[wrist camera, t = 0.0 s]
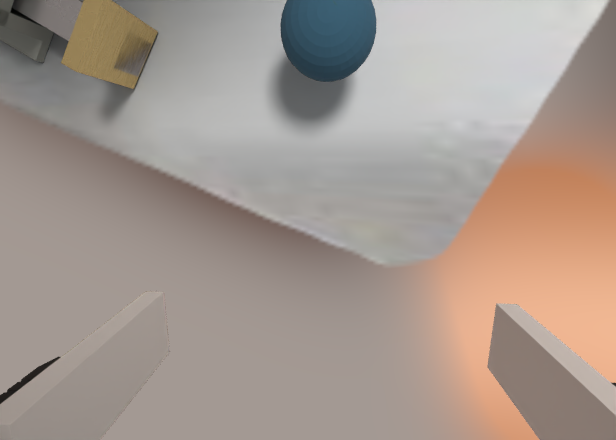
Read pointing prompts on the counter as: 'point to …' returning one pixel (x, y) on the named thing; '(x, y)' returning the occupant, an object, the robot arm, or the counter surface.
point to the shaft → (95, 36)
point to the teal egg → (328, 36)
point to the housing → (23, 32)
